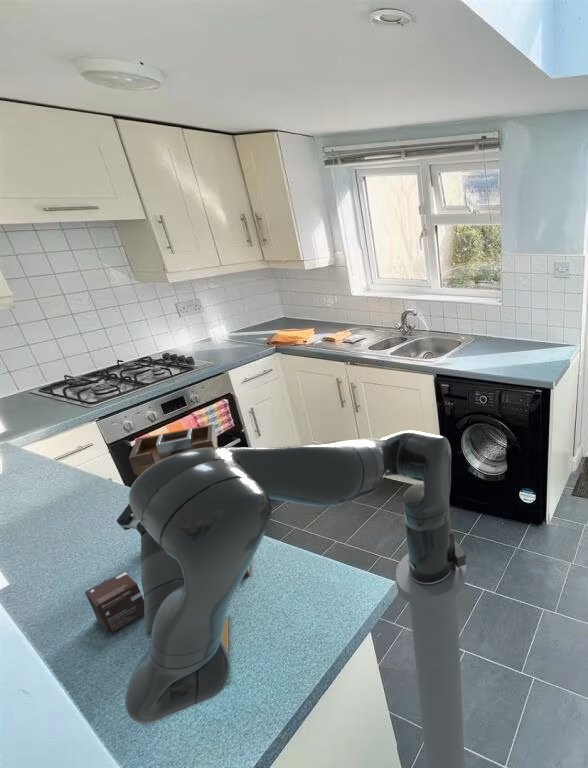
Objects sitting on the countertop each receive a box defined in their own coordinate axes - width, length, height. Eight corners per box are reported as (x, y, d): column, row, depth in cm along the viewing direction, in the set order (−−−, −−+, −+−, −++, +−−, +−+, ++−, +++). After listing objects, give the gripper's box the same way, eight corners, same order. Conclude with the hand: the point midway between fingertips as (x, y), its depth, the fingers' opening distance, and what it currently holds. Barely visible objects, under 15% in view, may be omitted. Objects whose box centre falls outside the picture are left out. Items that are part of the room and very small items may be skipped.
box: (109, 636, 78) (95, 606, 75) (97, 620, 80) (83, 591, 78) (149, 611, 82) (137, 583, 80) (136, 597, 85) (124, 570, 83)
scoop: (195, 439, 83) (191, 427, 82) (187, 485, 69) (183, 472, 68) (163, 445, 81) (159, 433, 80) (149, 495, 67) (144, 481, 66)
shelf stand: (248, 551, 97) (213, 423, 85) (249, 575, 91) (211, 440, 79) (184, 572, 91) (136, 438, 79) (180, 599, 85) (128, 457, 73)
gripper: (223, 533, 64) (212, 440, 73) (103, 569, 57) (107, 462, 66) (233, 551, 69) (221, 463, 78) (124, 586, 62) (125, 485, 71)
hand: (169, 463), depth 72 cm, fingers closed on scoop, 1 cm apart
